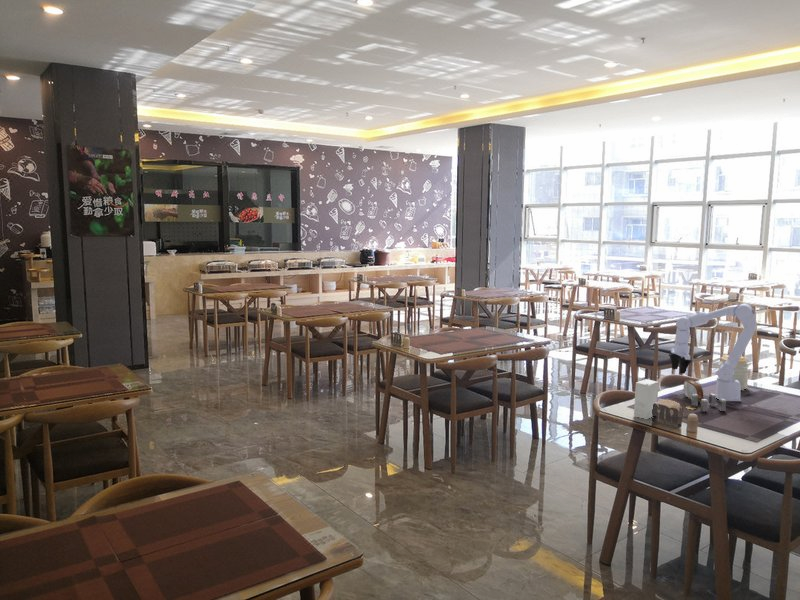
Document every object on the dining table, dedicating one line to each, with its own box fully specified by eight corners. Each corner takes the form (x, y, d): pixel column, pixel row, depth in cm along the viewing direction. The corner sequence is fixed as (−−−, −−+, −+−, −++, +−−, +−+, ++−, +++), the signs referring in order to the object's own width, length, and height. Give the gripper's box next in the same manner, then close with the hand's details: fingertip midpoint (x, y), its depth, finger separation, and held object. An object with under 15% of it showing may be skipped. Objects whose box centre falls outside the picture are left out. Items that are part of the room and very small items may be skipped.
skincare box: (643, 413, 260) (645, 378, 258) (657, 416, 255) (659, 381, 253) (632, 417, 255) (634, 381, 253) (646, 420, 250) (648, 384, 248)
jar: (724, 382, 311) (726, 348, 309) (752, 388, 301) (754, 352, 298) (712, 387, 303) (714, 351, 300) (740, 392, 293) (742, 355, 290)
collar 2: (722, 410, 264) (723, 398, 263) (725, 411, 262) (726, 400, 261) (700, 410, 264) (701, 398, 263) (702, 411, 262) (703, 400, 261)
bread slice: (703, 404, 273) (704, 386, 272) (696, 404, 273) (697, 385, 272) (688, 395, 288) (689, 377, 287) (681, 395, 288) (682, 377, 287)
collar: (712, 405, 272) (713, 393, 271) (715, 406, 270) (715, 394, 269) (691, 405, 272) (691, 393, 271) (693, 406, 270) (694, 395, 269)
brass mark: (693, 407, 269) (693, 406, 269) (697, 409, 265) (697, 408, 265) (683, 407, 269) (683, 406, 269) (688, 409, 265) (688, 408, 265)
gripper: (666, 339, 296) (663, 366, 298) (680, 345, 282) (677, 374, 284) (680, 339, 296) (677, 367, 298) (695, 346, 282) (692, 375, 284)
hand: (678, 371), depth 291 cm, fingers open, 7 cm apart
